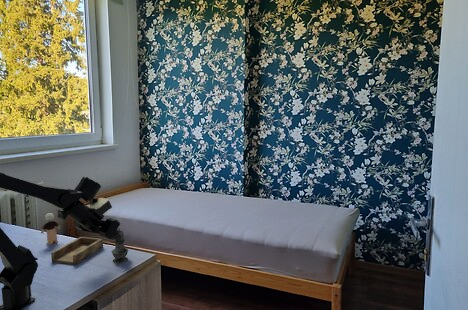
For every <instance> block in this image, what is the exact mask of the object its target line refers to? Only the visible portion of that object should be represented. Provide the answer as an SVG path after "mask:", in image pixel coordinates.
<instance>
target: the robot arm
mask: <svg viewBox="0 0 468 310" xmlns="http://www.w3.org/2000/svg"><path fill="white" fill-rule="evenodd" d="M0 189H4V190H7V191H11V192H14V193H17V194H18V193H19V194H21V195H26V196H29V197H33V198H35V199H37V200H39V201H41V202H42V203H44V204H47V205H49V206H52V207H56V208H59V209H58V210H57V218H58V219H61V220H66V219H67V218H68V217H69V218H70V219H72V220H73V227H75V228H76V229H77V230H80V231H83V232H88V233H94V234H99V236H101V237H102V238H104V239H107V240H115V239H116V240H120V239H121V235H120V234H119V232H118V229H119V227H120V226H121V222H120V221H119V220H117V219H115V218H112V217H109V218H106V220H103V219H104V218H105V215H104V214H106V213H107V212H109V210H111V209H112V208H113V205H112V204H111V202H110V200H109V199H108V198H105V197H98V198H95V197H96V196H97V194H98V193H99V192H100V190H101V189H102V185H101V184H100V183H99V182H97V181H95V180H93V179H92V178H89V177H88V176H82V178H81V179H80V181H79V182H78V184H77V185H76V186H75V188H74V189H71V188H63V187H62V188H61V187H56V186H49V185H41V184H36V183H34V182H30V181H28V180H24V179H20V178H17V177H14V176H10V175H8V174H5V173H4V172H2V171H1V172H0ZM88 202H89V206H88V205H86V204H87V203H88ZM85 203H86V204H85ZM0 260H1V262H2V266H4V267H3V268H2V270H1V271H0V284H2V285H3V287H1V298H2V299H1V300H2V304H1V305H0V310H22V309H24V308H26V307H27V306H28V305H30V304H31V303H33V302H34V301H36V297H32V289H31V287H32V286H31V285H32V284H33V281H34V277H35V274H36V272H37V270H38V267H39V264H38V260H39V259H38V258H37V257H35V256H34V255H33V252H32V250H31V249H30V248H28V247H25V246H23V245H21V244H18V246H17V245H16V244H15V243H14V242H13V240H11V238H10V237H9V236H8V235H7V233H6V232H5V231H4V230H3V229H2V228H1V227H0Z"/></svg>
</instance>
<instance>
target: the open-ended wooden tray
mask: <svg viewBox="0 0 468 310" xmlns="http://www.w3.org/2000/svg"><path fill="white" fill-rule="evenodd" d="M103 248H104V239H103V238H96V237H86V236H79V237H78V238H76V239H74V240H72V241H70V242H68V243H66V244H65V245H64V244H63V246H61V247H59V248H57V249H55V250H53V251H51V252H50V253H51V254H50V256H51V257H50V258H51V263H58V264H65V265H71V266H72V265H74V266H77V265H78V264H80V263H81V262H82V261H84V260H86V259H88V258H89V257H91V256H92V255H93V254H96V253H97V252H98V251H100V250H101V249H103Z"/></svg>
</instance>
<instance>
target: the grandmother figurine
mask: <svg viewBox="0 0 468 310" xmlns="http://www.w3.org/2000/svg"><path fill="white" fill-rule="evenodd" d="M44 219H45V220H46V222H47V223H44V225H43V226H42V227H41V231H40V233H41V235H42V234H44V233H45V230H46V241H47V242H46V245H47V246H52V245H53V244H57V243H59V241H58V234H57V230H60V229H61V226H60V224H59V223H58V222H57V221H56V220H54V219H55V215H54V213H52V212H48V213H46V214H45V216H44ZM56 228H57V230H56Z"/></svg>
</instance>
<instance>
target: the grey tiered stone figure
mask: <svg viewBox="0 0 468 310" xmlns="http://www.w3.org/2000/svg"><path fill="white" fill-rule="evenodd" d="M117 230H118V232H119V234H120V235H121V239H120V240H116V239H114V240H113V241H114V243H115V244H114V245H115V247H114V249H112V250H111V253H112V256H113V258H114V259H112V263H114V264H123V263H126V262H128V261H129V258H128V257H127V255H128V253H129V248H127V247H125V241H126V240H125V238H124V237H125V236H124V231H123V230H120V228H118V229H117Z"/></svg>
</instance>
